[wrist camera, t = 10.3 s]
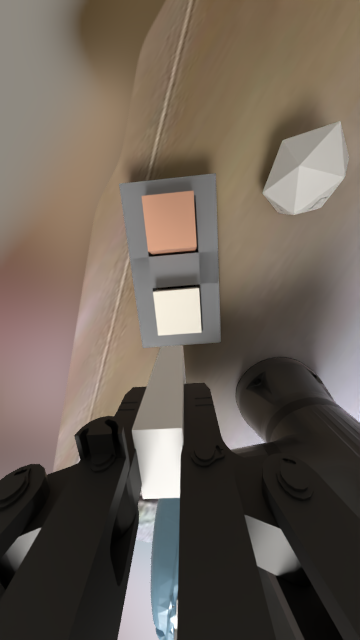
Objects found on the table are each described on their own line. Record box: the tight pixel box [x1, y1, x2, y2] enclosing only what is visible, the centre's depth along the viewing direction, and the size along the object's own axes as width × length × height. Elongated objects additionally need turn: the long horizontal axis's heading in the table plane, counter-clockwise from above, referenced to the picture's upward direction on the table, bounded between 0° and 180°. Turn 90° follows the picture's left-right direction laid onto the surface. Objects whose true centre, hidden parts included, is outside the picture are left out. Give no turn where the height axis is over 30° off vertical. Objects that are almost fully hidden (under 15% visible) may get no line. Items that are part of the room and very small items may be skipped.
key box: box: [119, 173, 221, 348], centre depth 26 cm, size 12×22×4 cm, turn 5°
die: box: [263, 121, 349, 215], centre depth 22 cm, size 8×9×10 cm
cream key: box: [153, 286, 202, 336], centre depth 25 cm, size 6×6×5 cm
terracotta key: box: [142, 191, 197, 256], centre depth 23 cm, size 6×6×5 cm
